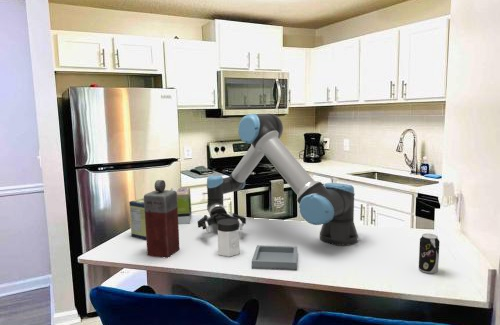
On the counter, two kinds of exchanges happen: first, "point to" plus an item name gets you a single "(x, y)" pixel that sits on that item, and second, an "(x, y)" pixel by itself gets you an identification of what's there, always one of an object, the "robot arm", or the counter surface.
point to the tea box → (183, 205)
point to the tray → (275, 257)
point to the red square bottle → (161, 221)
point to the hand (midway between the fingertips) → (224, 228)
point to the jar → (228, 237)
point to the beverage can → (429, 253)
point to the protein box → (137, 218)
